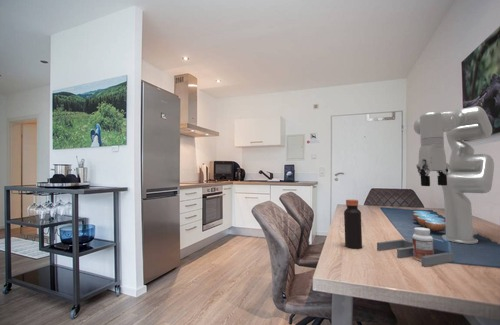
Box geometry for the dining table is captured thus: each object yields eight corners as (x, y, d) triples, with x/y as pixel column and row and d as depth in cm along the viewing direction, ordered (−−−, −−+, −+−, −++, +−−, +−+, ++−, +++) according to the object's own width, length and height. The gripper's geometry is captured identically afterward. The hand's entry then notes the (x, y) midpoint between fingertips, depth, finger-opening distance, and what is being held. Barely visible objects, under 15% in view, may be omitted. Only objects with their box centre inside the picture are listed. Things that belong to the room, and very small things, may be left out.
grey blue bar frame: (402, 246, 104) (402, 228, 105) (453, 261, 86) (452, 239, 86) (377, 250, 99) (376, 231, 100) (425, 266, 81) (424, 244, 81)
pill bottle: (416, 255, 92) (415, 226, 93) (436, 259, 88) (434, 228, 88) (410, 259, 89) (409, 228, 89) (431, 263, 84) (429, 231, 84)
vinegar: (365, 249, 101) (363, 200, 102) (348, 249, 101) (347, 201, 102) (358, 244, 108) (356, 199, 109) (342, 244, 108) (341, 199, 109)
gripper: (437, 145, 104) (439, 184, 103) (407, 143, 99) (409, 185, 98) (456, 142, 97) (459, 185, 96) (426, 141, 91) (428, 186, 91)
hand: (434, 185), depth 97 cm, fingers open, 9 cm apart
